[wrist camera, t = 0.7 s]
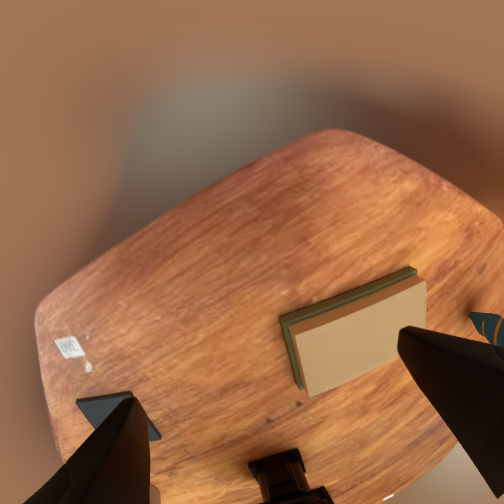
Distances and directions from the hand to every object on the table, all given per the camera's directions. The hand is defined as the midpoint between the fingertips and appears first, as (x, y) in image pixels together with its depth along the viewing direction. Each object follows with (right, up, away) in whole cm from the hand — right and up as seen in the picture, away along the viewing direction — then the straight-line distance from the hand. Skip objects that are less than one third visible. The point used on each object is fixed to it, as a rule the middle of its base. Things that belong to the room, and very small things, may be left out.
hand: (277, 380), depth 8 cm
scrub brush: (+9, -3, +18) cm, 20 cm away
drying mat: (-15, -14, +16) cm, 26 cm away
